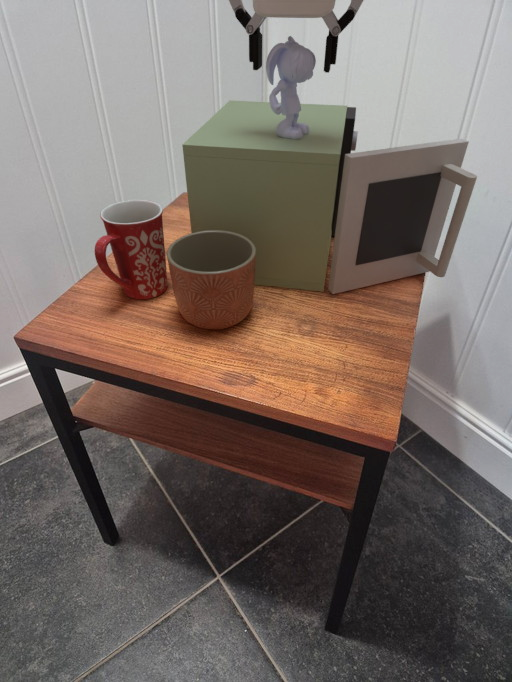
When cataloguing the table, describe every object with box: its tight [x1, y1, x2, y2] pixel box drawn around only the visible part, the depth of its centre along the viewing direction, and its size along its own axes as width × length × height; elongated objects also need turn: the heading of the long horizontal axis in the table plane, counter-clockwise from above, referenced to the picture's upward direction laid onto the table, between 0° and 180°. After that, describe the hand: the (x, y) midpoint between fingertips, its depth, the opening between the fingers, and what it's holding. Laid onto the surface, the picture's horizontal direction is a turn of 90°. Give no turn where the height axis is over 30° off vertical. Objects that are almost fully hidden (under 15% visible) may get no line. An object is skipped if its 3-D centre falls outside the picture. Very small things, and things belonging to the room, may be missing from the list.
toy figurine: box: [265, 35, 317, 140], centre depth 61 cm, size 7×6×12 cm
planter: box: [166, 230, 256, 330], centre depth 64 cm, size 12×12×11 cm
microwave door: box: [327, 138, 478, 295], centre depth 66 cm, size 7×20×22 cm, turn 112°
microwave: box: [182, 100, 359, 293], centre depth 77 cm, size 24×28×22 cm
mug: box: [94, 199, 168, 300], centre depth 68 cm, size 13×9×14 cm
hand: (291, 69), depth 60 cm, fingers open, 9 cm apart
